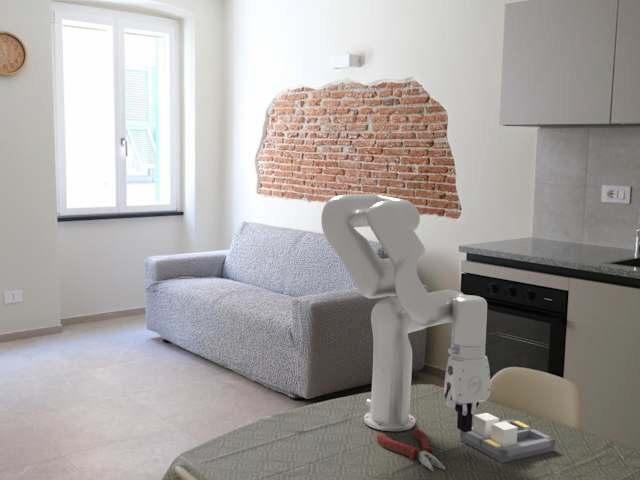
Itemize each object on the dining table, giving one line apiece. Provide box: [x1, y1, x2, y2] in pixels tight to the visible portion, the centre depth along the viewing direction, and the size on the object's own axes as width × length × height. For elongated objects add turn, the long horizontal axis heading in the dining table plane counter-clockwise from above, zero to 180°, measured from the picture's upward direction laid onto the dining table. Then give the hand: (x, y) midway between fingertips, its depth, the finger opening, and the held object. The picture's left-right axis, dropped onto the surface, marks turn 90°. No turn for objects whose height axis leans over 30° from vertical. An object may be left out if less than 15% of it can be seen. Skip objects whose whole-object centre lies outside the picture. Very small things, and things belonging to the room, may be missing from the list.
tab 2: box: [491, 421, 518, 447], centre depth 167 cm, size 4×4×5 cm
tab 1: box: [472, 412, 500, 438], centre depth 172 cm, size 4×4×5 cm
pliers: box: [376, 428, 447, 473], centre depth 165 cm, size 12×20×3 cm, turn 21°
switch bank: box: [459, 418, 556, 463], centre depth 172 cm, size 14×16×3 cm
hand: (464, 429), depth 168 cm, fingers closed
